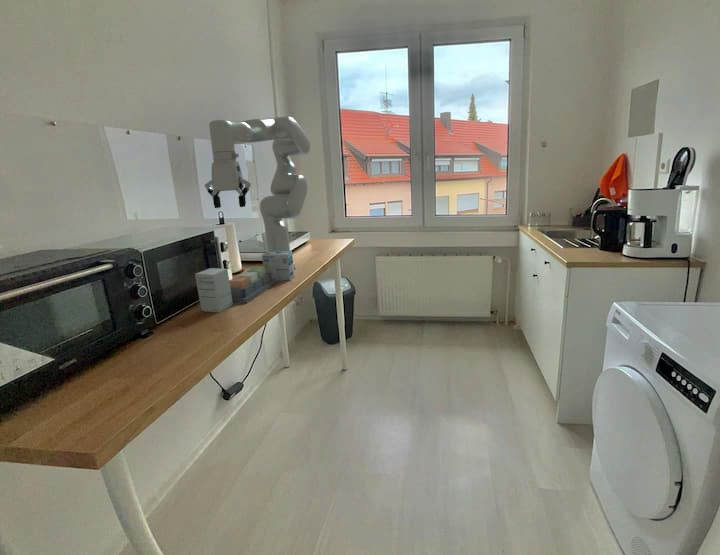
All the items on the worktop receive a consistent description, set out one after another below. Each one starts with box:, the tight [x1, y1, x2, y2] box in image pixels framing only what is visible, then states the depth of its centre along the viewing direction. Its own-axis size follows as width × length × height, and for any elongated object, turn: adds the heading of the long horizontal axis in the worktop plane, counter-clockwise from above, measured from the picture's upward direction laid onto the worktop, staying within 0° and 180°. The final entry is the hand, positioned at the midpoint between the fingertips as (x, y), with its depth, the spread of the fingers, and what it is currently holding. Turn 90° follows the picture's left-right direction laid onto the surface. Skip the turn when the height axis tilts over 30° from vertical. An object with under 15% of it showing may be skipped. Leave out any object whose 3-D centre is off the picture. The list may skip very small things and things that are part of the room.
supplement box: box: [194, 267, 234, 313], centre depth 138 cm, size 7×7×13 cm
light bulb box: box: [261, 250, 296, 282], centre depth 169 cm, size 11×7×11 cm, turn 84°
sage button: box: [246, 267, 266, 278], centre depth 160 cm, size 5×5×4 cm
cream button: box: [237, 271, 258, 283], centre depth 153 cm, size 5×5×4 cm
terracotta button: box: [229, 276, 249, 289], centre depth 147 cm, size 5×5×4 cm
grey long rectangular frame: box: [230, 273, 277, 304], centre depth 154 cm, size 24×10×4 cm, turn 167°
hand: (230, 207), depth 153 cm, fingers open, 9 cm apart
